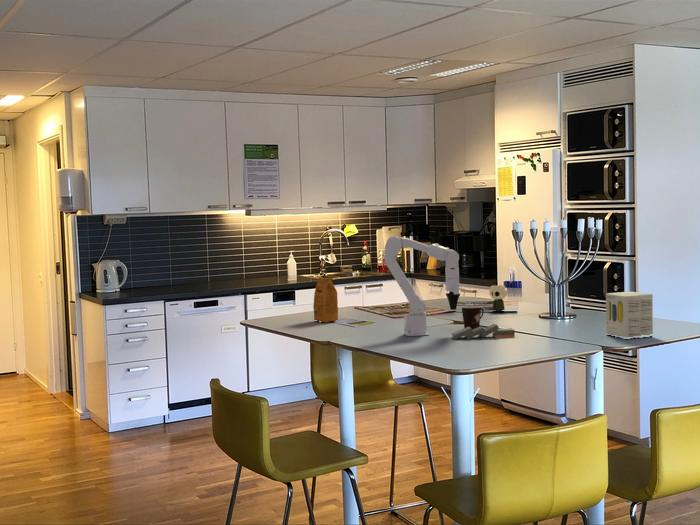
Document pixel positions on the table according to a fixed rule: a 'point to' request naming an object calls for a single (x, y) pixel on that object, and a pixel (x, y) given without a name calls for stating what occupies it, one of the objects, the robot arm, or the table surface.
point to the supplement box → (629, 314)
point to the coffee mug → (472, 316)
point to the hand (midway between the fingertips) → (453, 309)
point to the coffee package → (325, 301)
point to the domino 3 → (504, 331)
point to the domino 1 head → (462, 332)
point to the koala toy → (498, 297)
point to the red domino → (503, 335)
